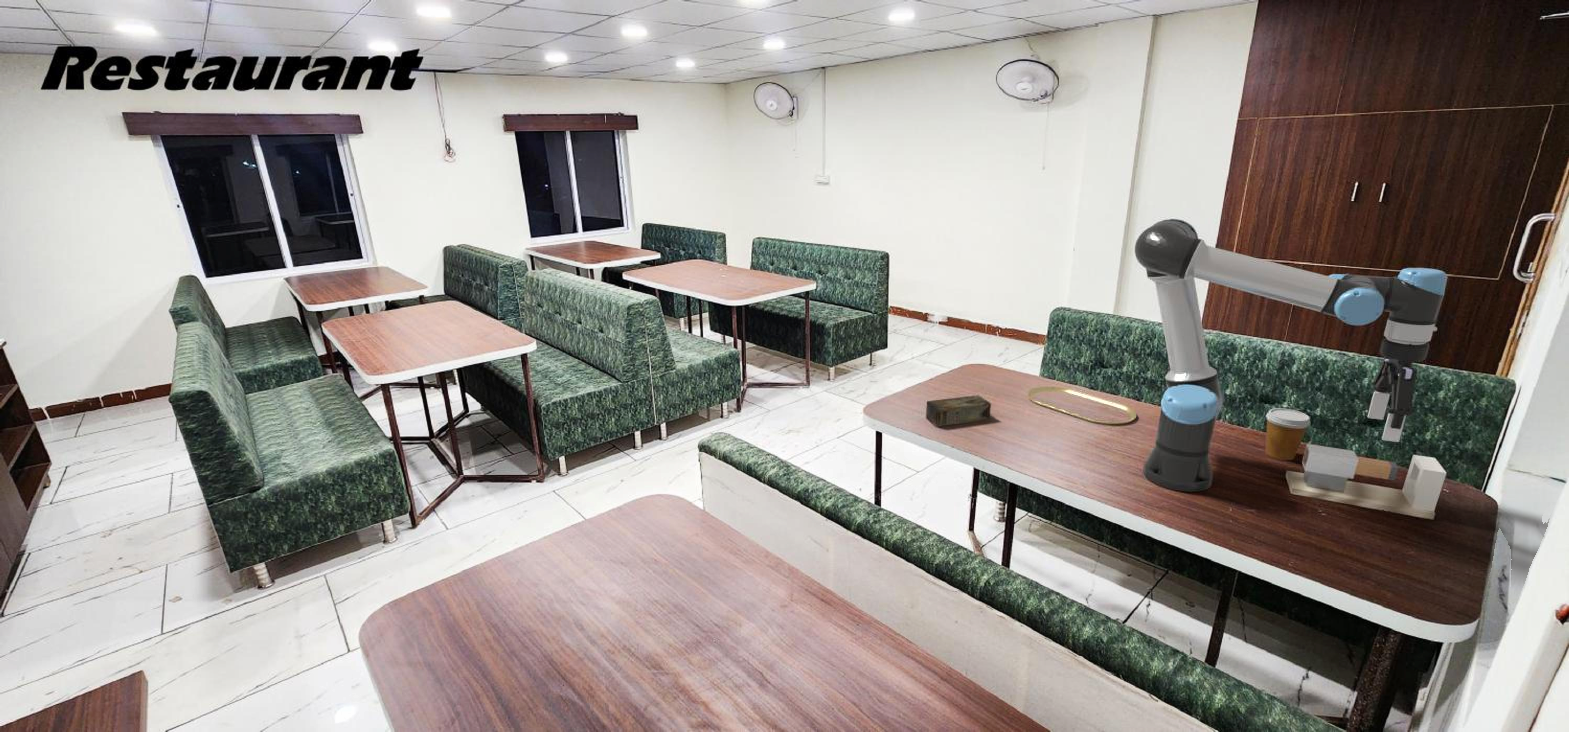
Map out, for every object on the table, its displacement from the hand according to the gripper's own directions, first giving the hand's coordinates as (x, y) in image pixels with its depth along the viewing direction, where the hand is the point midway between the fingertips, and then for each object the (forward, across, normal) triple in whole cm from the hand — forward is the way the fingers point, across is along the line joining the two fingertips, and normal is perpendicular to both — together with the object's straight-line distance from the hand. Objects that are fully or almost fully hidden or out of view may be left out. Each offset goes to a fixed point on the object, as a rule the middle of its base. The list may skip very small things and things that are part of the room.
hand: (1382, 429), depth 148 cm
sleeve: (+16, 0, +8) cm, 18 cm away
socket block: (+16, 0, -9) cm, 19 cm away
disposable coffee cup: (+18, +18, +14) cm, 29 cm away
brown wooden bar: (+11, 0, +4) cm, 12 cm away
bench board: (+18, 0, +2) cm, 18 cm away
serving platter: (+18, +32, +66) cm, 76 cm away
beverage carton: (+17, +5, +99) cm, 100 cm away
